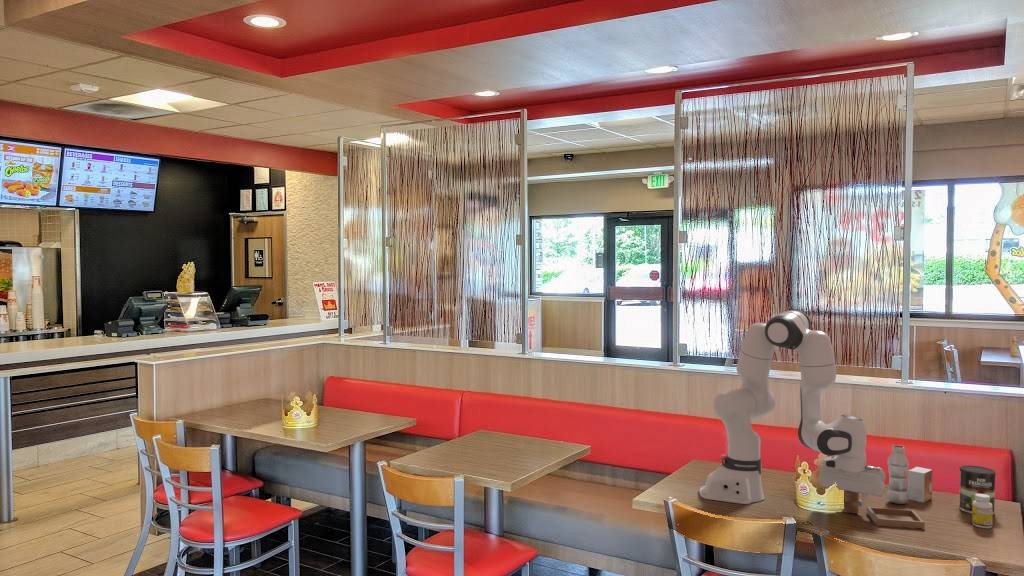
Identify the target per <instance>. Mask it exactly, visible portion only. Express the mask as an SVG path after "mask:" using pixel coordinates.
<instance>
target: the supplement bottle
mask: <svg viewBox="0 0 1024 576" xmlns="http://www.w3.org/2000/svg"><path fill="white" fill-rule="evenodd" d="M975 499H976V500H975V501H973V504H972V514H971V515H972V516H971V517H972V520H971V521H972V525H973V526H975V527H977V528H980V529H991V528H992V527H993V515H992V504H991V503H990V502H989V501H990V496H989V495H986V494H975Z"/></svg>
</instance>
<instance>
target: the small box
mask: <svg viewBox="0 0 1024 576" xmlns="http://www.w3.org/2000/svg"><path fill="white" fill-rule="evenodd" d="M907 491H908V495H909V500H908V501H914V502H919V503H923V504H924V503H927V502H928V501H929V500H932V499H933V469H930V468H925V467H920V466H915V467H913V468H912V469H908V471H907Z"/></svg>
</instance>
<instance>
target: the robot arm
mask: <svg viewBox="0 0 1024 576" xmlns="http://www.w3.org/2000/svg"><path fill="white" fill-rule="evenodd" d="M811 326H812V321H811V319H810V317H809V316H808V314H807V313H805V312H804V311H802V310H799V309H788V310H785V311H782V312H779V313H778V314H777V315H775V316H772V317H770V319H768V321H767V323H765V322H755V323H752V324H751V325H750V326H749V327H748V328H747V330H746V333H745V336H744V338H743V340H742V344H741V348H740V351H739V355H738V356H739V357H738V358H737V359H738V360H737V364H736V372H737V374H738V376H739V377H740V378H741V387H740V388H736V389H728V390H725V391H723V392H720V393H718V394H717V395H715V397H714V399H713V403H712V405H713V407H712V408H713V410H714V413H715V415H716V416H717V418H719V420H721V421H722V423H723V425H724V427H725V431H726V433H727V455H726V454H723V453H722V454H721V455H720V457H719V458H720V460H721V466H719V467H718V468H716V469H715V470H713V471H712V472H710V473H709V474H708V476H707V478H706V480H705V485H702V486H700V487H699V491H698V492H699V496H700V497H701V498H702V499H705V500H712V501H720V502H727V503H734V504H740V505H741V504H742V505H743V504H744V505H750V504H752V503H757V502H761V501H763V500H764V499H765V494H764V492H763V486H762V480H761V475H762V469H763V468H762V466H763V465H762V463H763V462H762V458H761V437H760V435H759V434H758V433H757V432H756V430H755V431H754V429H753V427H752V422H751V420H752V419H757V418H763V417H764V416H767V415H768V414H770V413H772V412H773V411H774V410H775V407H776V398H775V396H774V394H773V392H772V391H771V390H770V385H769V378H770V377H769V376H770V371H771V368H772V361H773V358H774V354H775V350H776V347H780V348H783V349H787V350H790V351H793V350H796V352H797V354H798V359H799V360H798V361H799V368H800V369H799V370H800V386H799V387H800V388H799V389H800V391H799V392H800V394H799V395H800V396H799V397H800V422H799V425H798V430H797V437H798V440H799V442H800V443H801V444H802V446H804V447H806V448H809V449H811V450H814V451H815V452H818V453H820V454H822V455H824V456H827V457H825V458H823V460H822V462H821V464H822V466H821V468H820V470H819V474H818V484H819V486H820V487H822V488H823V487H824V488H828V489H830V488H829V487H830V486H832V485H833V484H835V482H836V484H837V486H836V487H837V488H838V489H839V490H840V491H843V490H845V491H850V492H856V493H859V494H861V497H862V499H858V507H864V506H865V500H866V499H867V497H868V496H869V495H870V496H875V497H880V498H881V497H882V496H884V495H885V492H886V489H885V481H886V472H885V470H884V469H882V468H881V467H879V466H871V465H867V454H866V453H867V452H866V446H867V428H866V426H867V425H866V423H865V421H864V420H863V419H862V418H860V417H857V416H854V415H850V414H841V415H840V416H839V417H838V418H837V419H835V420H834V421H832V422H829V423H827V424H826V423H825V422H824V421H823V419H822V417H821V414H822V413H821V394H822V393H823V391H825V390H827V389H830V388H831V386H833V385H834V384H835V382H836V378H837V365H836V357H835V353H834V348H833V344H832V341H831V338H830V336H829V335H828V333H826V332H824V331H821V330H816V329H815V330H812V327H811Z"/></svg>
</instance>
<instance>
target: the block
mask: <svg viewBox="0 0 1024 576" xmlns="http://www.w3.org/2000/svg"><path fill="white" fill-rule="evenodd" d="M859 494H860V493H856V492H850V491H845V490H844V509H843V511H844V510H845V511H844V512H845V513H848V514H849V513H850V514H859V506H858V504H859V503H858V501H859V499H860V498H859Z"/></svg>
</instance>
